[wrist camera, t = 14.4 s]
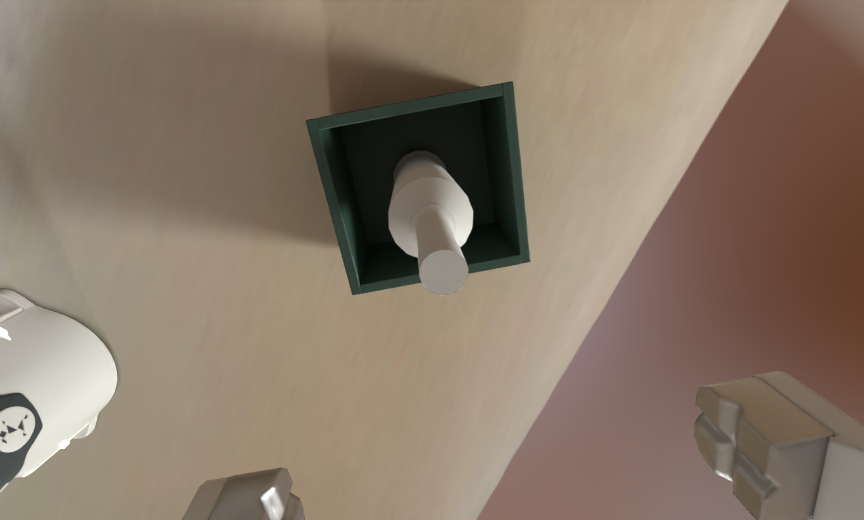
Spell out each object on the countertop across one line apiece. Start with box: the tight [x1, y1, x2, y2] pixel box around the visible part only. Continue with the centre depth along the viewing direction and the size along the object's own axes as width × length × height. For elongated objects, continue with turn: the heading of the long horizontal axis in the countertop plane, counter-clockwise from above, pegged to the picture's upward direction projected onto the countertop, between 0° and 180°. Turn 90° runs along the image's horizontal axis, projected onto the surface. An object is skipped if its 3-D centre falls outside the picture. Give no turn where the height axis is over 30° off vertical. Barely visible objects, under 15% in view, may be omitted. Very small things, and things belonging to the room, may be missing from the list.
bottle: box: [388, 151, 473, 295], centre depth 29 cm, size 5×5×25 cm
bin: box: [306, 81, 531, 295], centre depth 36 cm, size 15×14×11 cm
